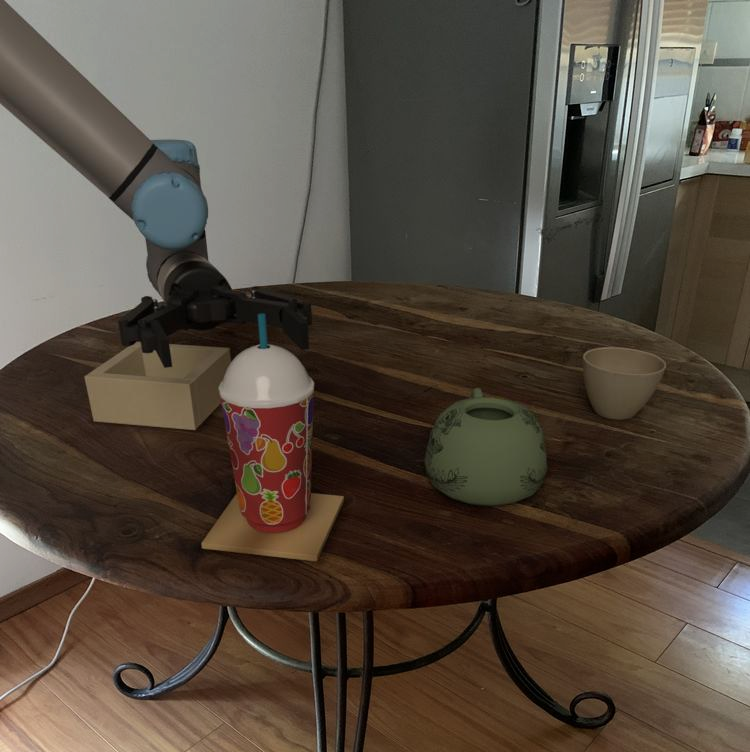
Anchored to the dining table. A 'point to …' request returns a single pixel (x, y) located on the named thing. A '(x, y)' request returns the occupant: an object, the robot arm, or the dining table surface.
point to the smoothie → (269, 434)
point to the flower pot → (620, 380)
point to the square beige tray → (158, 387)
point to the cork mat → (290, 544)
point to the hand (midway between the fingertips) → (238, 345)
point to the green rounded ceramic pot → (486, 452)
